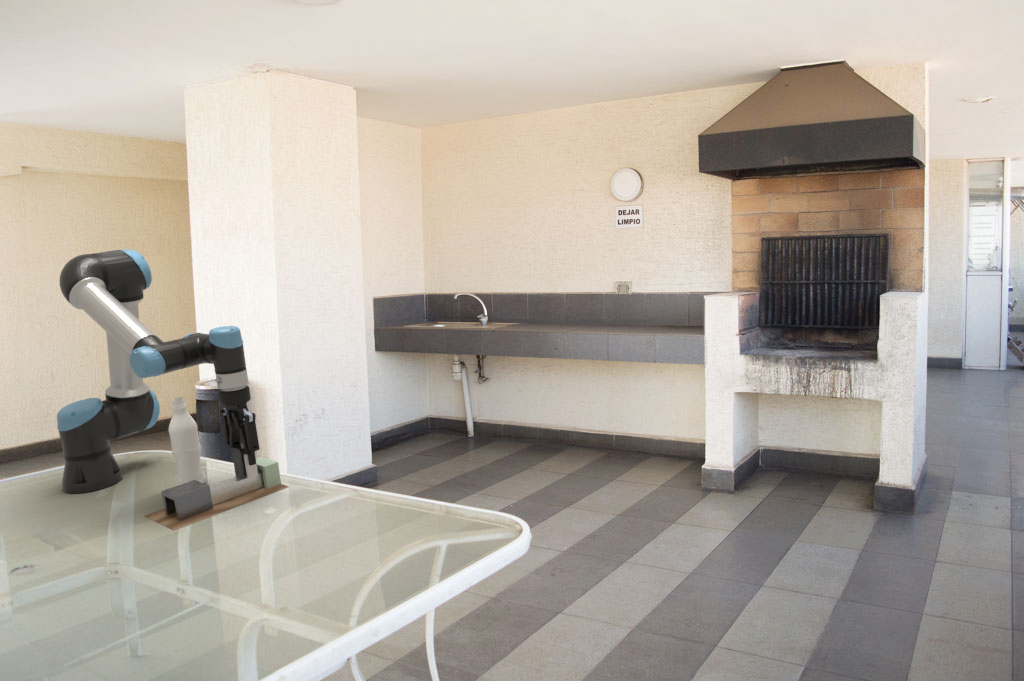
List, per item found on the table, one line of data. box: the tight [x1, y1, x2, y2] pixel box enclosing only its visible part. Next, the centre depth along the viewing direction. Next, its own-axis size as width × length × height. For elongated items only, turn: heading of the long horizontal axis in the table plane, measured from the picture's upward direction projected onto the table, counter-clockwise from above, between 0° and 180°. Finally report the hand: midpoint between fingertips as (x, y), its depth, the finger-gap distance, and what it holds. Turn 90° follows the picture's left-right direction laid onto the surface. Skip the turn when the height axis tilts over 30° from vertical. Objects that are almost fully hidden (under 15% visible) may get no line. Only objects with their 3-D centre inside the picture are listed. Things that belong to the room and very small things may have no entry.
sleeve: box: [161, 480, 213, 521], centre depth 196 cm, size 8×8×6 cm
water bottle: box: [168, 396, 206, 486], centre depth 214 cm, size 7×7×25 cm
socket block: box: [256, 456, 282, 489], centre depth 212 cm, size 8×4×6 cm, turn 48°
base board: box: [143, 483, 290, 531], centre depth 203 cm, size 16×31×1 cm, turn 138°
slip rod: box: [209, 443, 264, 505], centre depth 205 cm, size 4×21×12 cm, turn 138°
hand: (246, 474), depth 208 cm, fingers open, 5 cm apart
